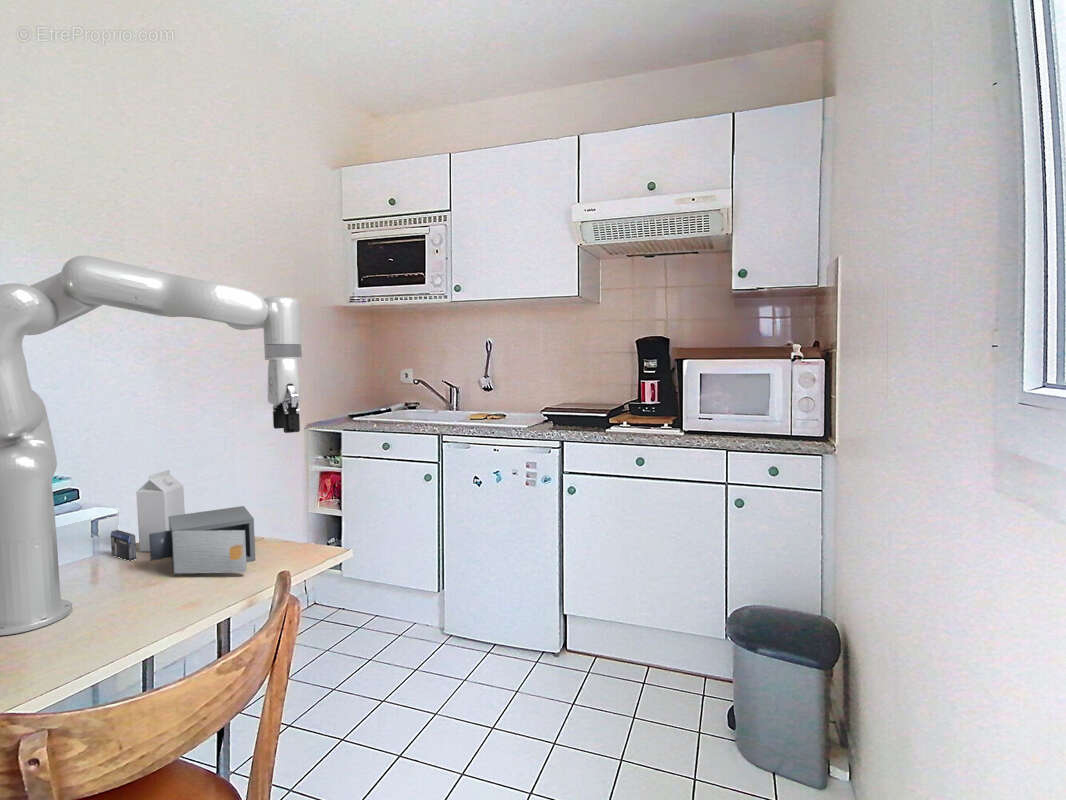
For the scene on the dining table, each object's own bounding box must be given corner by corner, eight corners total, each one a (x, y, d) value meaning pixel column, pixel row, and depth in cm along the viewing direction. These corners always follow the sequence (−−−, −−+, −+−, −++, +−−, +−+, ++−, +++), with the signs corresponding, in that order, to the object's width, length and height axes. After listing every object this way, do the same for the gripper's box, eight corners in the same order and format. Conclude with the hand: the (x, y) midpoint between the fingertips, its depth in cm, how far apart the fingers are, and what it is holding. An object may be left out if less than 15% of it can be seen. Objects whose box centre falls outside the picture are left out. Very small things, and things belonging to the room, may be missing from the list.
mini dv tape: (111, 555, 136) (110, 531, 135) (118, 554, 137) (117, 529, 136) (129, 561, 131) (127, 536, 131) (136, 559, 133) (135, 534, 132)
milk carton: (139, 552, 138) (135, 475, 136) (159, 542, 145) (155, 469, 144) (167, 552, 138) (163, 475, 136) (186, 543, 145) (182, 469, 143)
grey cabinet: (152, 580, 120) (149, 534, 119) (150, 561, 131) (148, 519, 131) (255, 560, 132) (253, 518, 131) (245, 544, 143) (243, 505, 142)
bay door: (170, 575, 120) (168, 534, 119) (177, 571, 122) (175, 530, 122) (241, 574, 120) (239, 533, 120) (246, 570, 122) (245, 530, 122)
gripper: (257, 353, 129) (260, 427, 130) (273, 352, 115) (277, 435, 117) (291, 353, 134) (294, 425, 135) (311, 352, 120) (314, 432, 121)
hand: (286, 430), depth 126 cm, fingers open, 9 cm apart
